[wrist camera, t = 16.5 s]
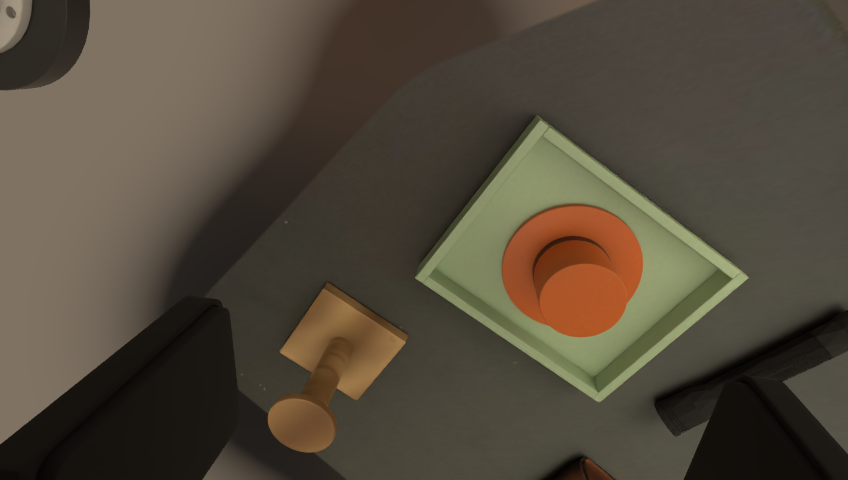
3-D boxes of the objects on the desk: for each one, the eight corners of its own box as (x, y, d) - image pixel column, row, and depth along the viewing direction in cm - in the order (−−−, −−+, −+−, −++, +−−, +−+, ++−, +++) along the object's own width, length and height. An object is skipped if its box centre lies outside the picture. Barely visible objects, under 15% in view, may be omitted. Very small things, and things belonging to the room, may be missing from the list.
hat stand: (284, 345, 45) (224, 429, 35) (327, 281, 41) (275, 355, 31) (359, 392, 46) (323, 488, 36) (408, 335, 42) (382, 423, 32)
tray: (419, 264, 39) (414, 278, 37) (536, 114, 33) (540, 119, 31) (592, 383, 42) (599, 403, 39) (732, 262, 36) (749, 277, 33)
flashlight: (650, 397, 41) (661, 421, 39) (839, 300, 36) (868, 321, 33) (668, 418, 42) (680, 443, 39) (857, 326, 36) (887, 349, 33)
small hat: (475, 277, 38) (472, 311, 33) (562, 175, 34) (575, 197, 29) (575, 346, 40) (588, 390, 35) (672, 257, 35) (702, 291, 30)
